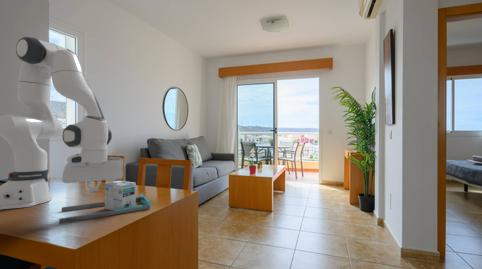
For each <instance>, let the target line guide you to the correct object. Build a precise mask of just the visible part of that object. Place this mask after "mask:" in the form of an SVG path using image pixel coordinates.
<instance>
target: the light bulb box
mask: <svg viewBox="0 0 482 269" xmlns="http://www.w3.org/2000/svg"><path fill="white" fill-rule="evenodd" d="M136 185H137V184H136V182H133V181H124V180H115V181H113V180H112V181H109V182H105V183H104V202H105V206H104V209H105V210H108V211H112V210H115V209H118V208H125V207H131V206H137V201H136V197H137V193H136V190H137V188H136V187H137V186H136Z"/></svg>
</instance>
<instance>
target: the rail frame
mask: <svg viewBox="0 0 482 269" xmlns="http://www.w3.org/2000/svg"><path fill="white" fill-rule="evenodd" d="M136 202H141V204H139V205H136V206H131V207H125V208H118V209H115V210H107V211H102V212H94V213H87V214H82V215H74V216H69V217H68V216H67V217H62V218H59V220H58V224H59V225H61V224H66V223H67V224H68V223H73V222H78V221H85V220H91V219H97V218H103V217H109V216H110V217H111V216H115V215H121V214H128V213H134V212H140V211H145V210H150V209H151V208H152V207H151V201H150V199H149V198H147V196H145V195H144V194H143V193H139V196H138V197H137V196H136ZM97 207H98V208H99V207H105V201H99V202H92V203H85V204H78V205H70V206H63V207H61V213H63V212H70V211H76V210H84V209H91V208H97Z"/></svg>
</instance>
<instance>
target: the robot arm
mask: <svg viewBox="0 0 482 269" xmlns="http://www.w3.org/2000/svg"><path fill="white" fill-rule="evenodd" d="M15 52H16V55H17V57H18V58H19V59H20V60H21V61H22V63H21V66H20V69H19V73H18V79H17V93H16V99H17V101H18V102H19V103H20V104H21V105H23V106H24V107H25V108H26V110H27V113H28V114H24V113H23V114H22V113H10V114H9V113H8V114H3V115H0V138H2V139H4V141H5V142H7V143H8V144H9V146H10V147H11V150H12V153H13V158H14V159H13V160H14V171H10V172H8V175H7V179H8V181H6V182H5V183H3V184H1V185H0V210H9V209H19V208H20V209H21V208H30V207H33V206H35V205H39V204H43V203H46V202H49V201H51V200H52V199H53V198H52V196H51V193H50V188H49V181H50V170H49V168H48V152H47V151H46V150H45V149H43V148H41V147H40V145H39V144H38V142H37V140H49V139H52V138H57V137H58V136H60V135H61V133H62V140H63V143H64V145H66V146H67V147H69V148H74V149H75V148H76V149H79V148H80V149H81V153H76V154H73V155H70V156H68V157H67V158H66V160H67V163H66V165H65V166H64V168H63V173H62V179H61V181H62V182H63V183H64V184H70V183H74V184H75V183H86V186H87V188H88V189H89V193H90V194H92V193H98V192H99V188H100V186H101V185H102V181H113V180H115V181H117V180H122V178H123V177H124V172H123V167H124V164H125V161H124V158H122V157H120V156H108V154H109V153H108V152H109V148H108V145H109V144H110V143H111V141H112V138H113V134H112V131H111V129H110V127H109V125H108V121H107V119H106V118H105V116H104V114H103V111H102V109H101V106H100V103H99V101H98V98H97V96H96V94H95V93H94V91H92V90H91V88H90V87H89V85H88V84H87V81H86V80H85V76H84V72H83V68H82V65H81V63H80V60H79V57H78V54H76V53H75V52H74V51H72V50H71V49H69V48H65V47H64V46H60V45H58V44H55V43H52V42H49V41H45V40H40V39H37V38H35V37H31V36H30V37H29V36H24V37H21V38H20V39H19V40H18V41H17V43H16V45H15ZM51 84H52V85H51ZM52 86H53V87H54V89H55V91H56V92H57V93H59V94H60V95H61V96H63V97H64V98H67V99H69V100H71V101H73V102H75V103H77V104H79V105H81V106H82V107H83V109H84V110H85V111H86V115H85V116H84V117H83V119H81V120H80V121H78V122H76V123H72V124H68V125H66V127H65V128H64V129H63V124H62V122H61V121H60V120H59V119H58V117H56V115H55V114H54V111H53V109H52V106H51V87H52ZM91 182H96V183H97V185H96V186H94V187H93V186H91Z"/></svg>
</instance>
